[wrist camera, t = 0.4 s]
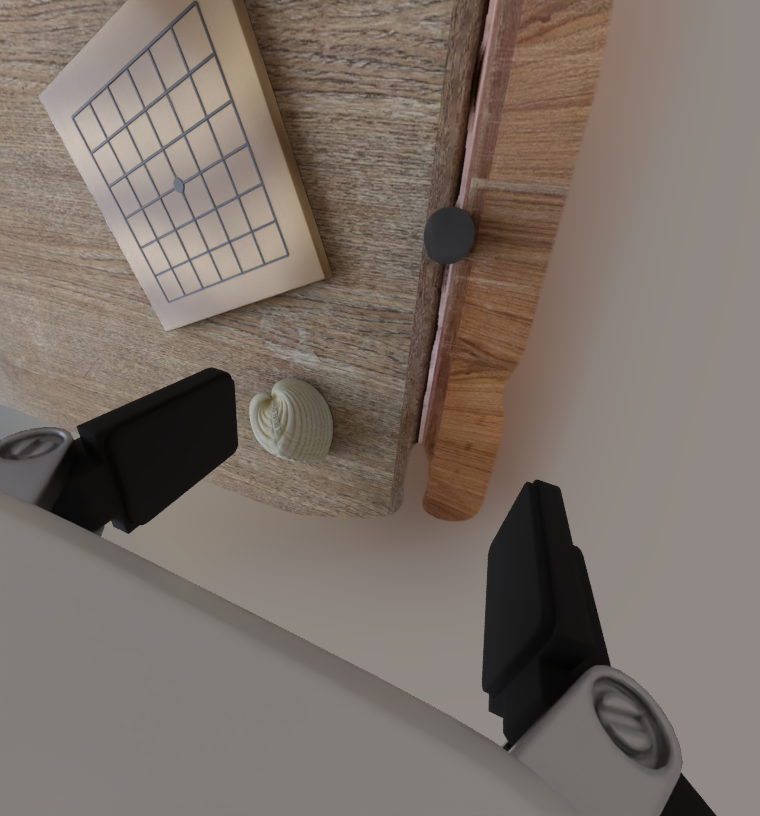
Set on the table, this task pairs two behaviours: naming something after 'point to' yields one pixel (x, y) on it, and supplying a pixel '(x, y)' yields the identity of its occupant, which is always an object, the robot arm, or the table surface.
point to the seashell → (292, 421)
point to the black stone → (449, 235)
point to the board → (188, 157)
